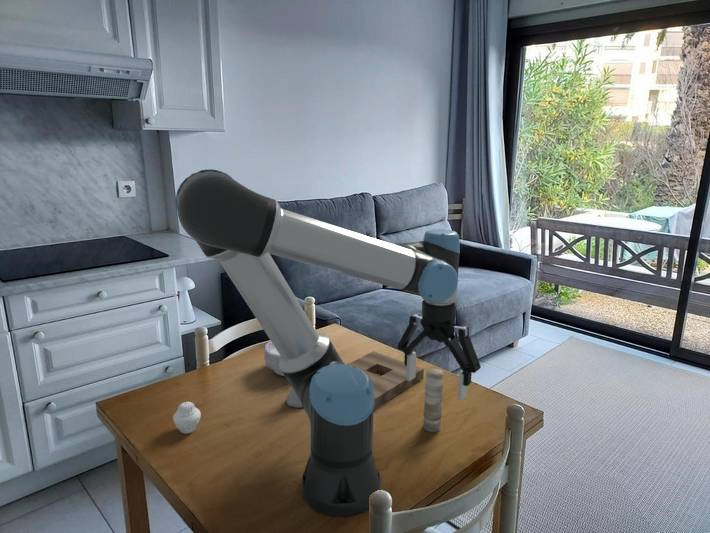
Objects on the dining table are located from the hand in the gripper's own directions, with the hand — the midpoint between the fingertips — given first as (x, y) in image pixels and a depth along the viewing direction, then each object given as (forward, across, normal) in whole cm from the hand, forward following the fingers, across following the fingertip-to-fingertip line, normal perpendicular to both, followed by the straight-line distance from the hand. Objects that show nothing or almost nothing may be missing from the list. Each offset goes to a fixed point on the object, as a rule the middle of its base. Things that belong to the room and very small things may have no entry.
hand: (435, 387), depth 115 cm
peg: (+10, 0, 0) cm, 10 cm away
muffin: (+9, +42, +38) cm, 58 cm away
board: (+10, +24, -8) cm, 27 cm away
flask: (+10, +32, +12) cm, 36 cm away
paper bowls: (+10, +47, +2) cm, 48 cm away
